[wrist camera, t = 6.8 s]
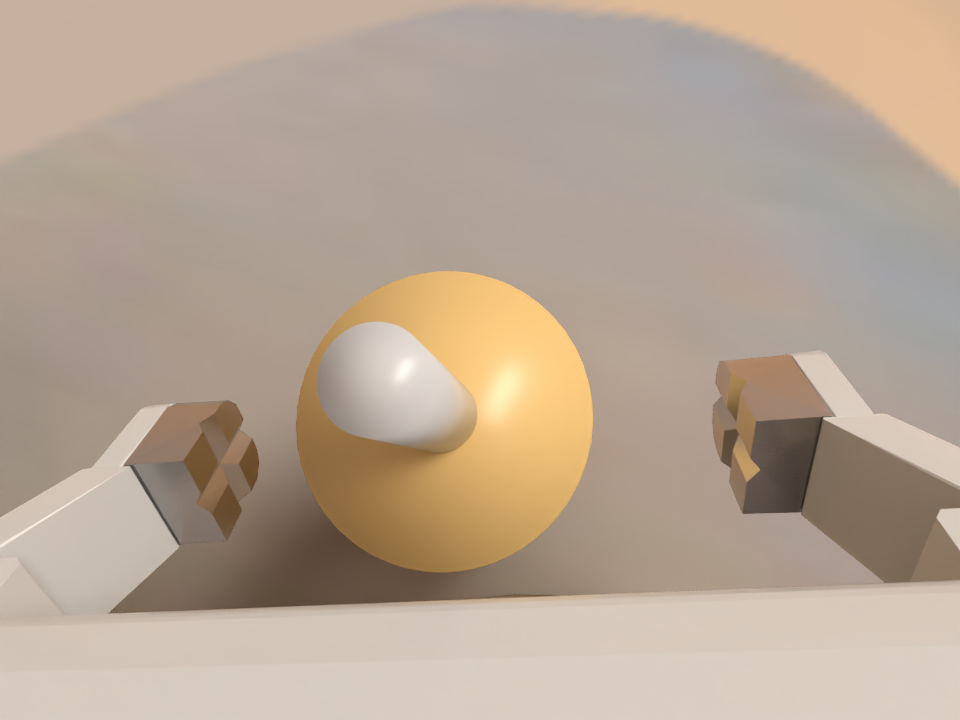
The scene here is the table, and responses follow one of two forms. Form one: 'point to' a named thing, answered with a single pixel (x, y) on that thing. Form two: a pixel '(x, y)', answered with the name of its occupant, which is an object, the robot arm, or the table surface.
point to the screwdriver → (444, 421)
